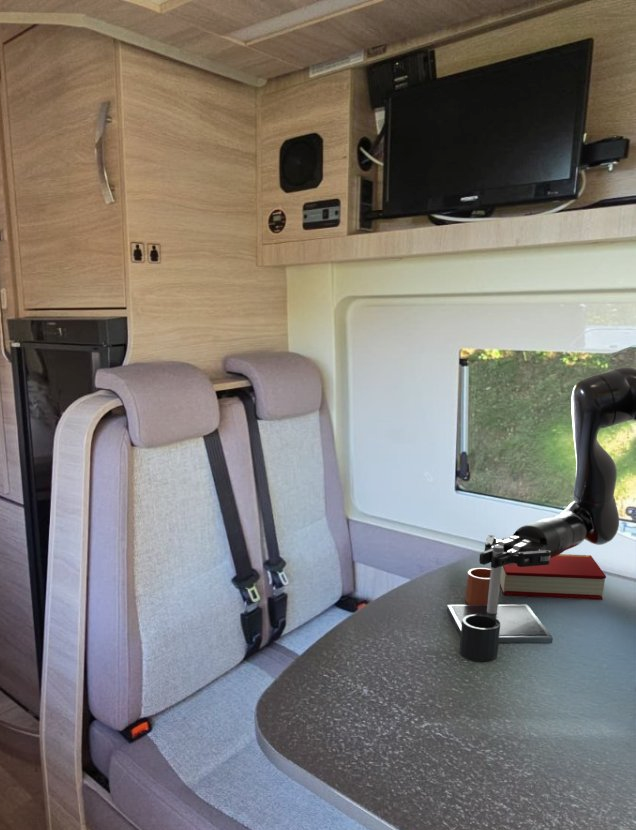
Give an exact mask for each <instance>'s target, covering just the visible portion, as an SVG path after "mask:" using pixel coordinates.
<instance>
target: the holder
mask: <svg viewBox="0 0 636 830" xmlns="http://www.w3.org/2000/svg"><path fill="white" fill-rule="evenodd" d="M499 633H500V622H499V620H497V619H496V618H494V617H491V616H487V615H481V614H473V615H467V616H465V617H463V619H462V626H461V636H460V638H459V654H460V655H461V656H462V657H463V658H465V659H467V660H469V661H473V662H479V663H487V662H491V661H494V660H496V659H497V657H498V652H499V644H500V643H499Z"/></svg>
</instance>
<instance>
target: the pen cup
mask: <svg viewBox="0 0 636 830" xmlns="http://www.w3.org/2000/svg"><path fill="white" fill-rule="evenodd" d="M490 574H491V568H487V567H475V568H471V569H468V571H467V573H466V585H465V595H464V598H465V599H464V600H465V603H466V604H467V605H487V604H488V594H489V584H490Z"/></svg>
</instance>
